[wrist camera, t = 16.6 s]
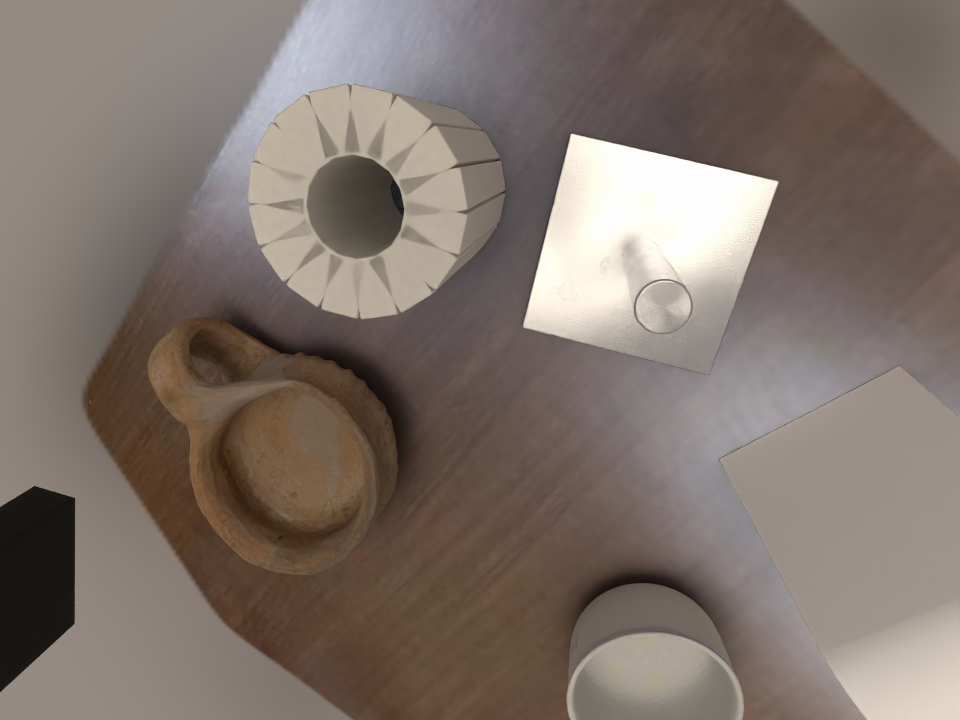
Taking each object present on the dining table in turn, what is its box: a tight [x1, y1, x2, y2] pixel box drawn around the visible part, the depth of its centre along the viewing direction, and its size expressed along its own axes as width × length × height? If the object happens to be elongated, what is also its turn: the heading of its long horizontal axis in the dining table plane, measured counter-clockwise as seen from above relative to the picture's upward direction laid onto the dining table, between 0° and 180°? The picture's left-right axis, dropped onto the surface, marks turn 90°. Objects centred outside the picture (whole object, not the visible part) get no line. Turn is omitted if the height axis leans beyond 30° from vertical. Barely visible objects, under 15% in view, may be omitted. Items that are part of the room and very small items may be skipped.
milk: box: [719, 366, 960, 720], centre depth 30 cm, size 12×12×26 cm
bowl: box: [148, 318, 399, 575], centre depth 43 cm, size 18×14×10 cm
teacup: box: [567, 583, 744, 720], centre depth 45 cm, size 14×11×8 cm
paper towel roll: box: [247, 84, 506, 319], centre depth 35 cm, size 10×10×13 cm
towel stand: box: [522, 133, 779, 375], centre depth 34 cm, size 12×12×14 cm
